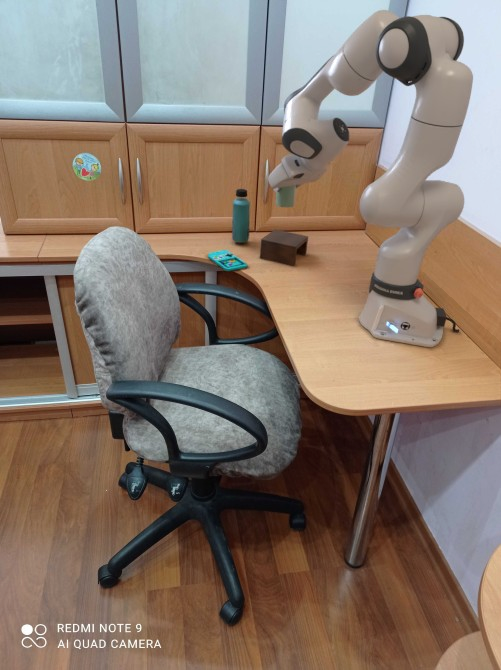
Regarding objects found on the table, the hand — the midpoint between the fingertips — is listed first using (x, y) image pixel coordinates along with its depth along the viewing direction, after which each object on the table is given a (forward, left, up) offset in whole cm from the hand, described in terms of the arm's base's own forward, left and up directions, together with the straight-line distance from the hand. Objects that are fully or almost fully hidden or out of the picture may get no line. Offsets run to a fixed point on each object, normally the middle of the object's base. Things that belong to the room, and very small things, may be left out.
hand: (284, 188), depth 154 cm
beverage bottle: (+19, -7, -25) cm, 32 cm away
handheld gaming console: (+15, +11, -25) cm, 31 cm away
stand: (0, -4, -25) cm, 25 cm away
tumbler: (-1, 0, -5) cm, 5 cm away
